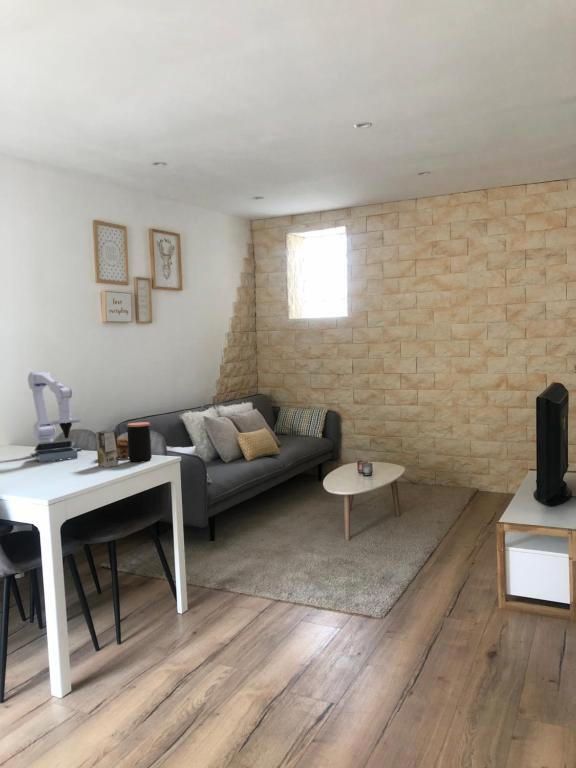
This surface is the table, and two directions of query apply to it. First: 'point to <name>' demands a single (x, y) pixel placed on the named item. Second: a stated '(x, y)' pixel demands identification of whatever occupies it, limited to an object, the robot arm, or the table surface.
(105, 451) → the coffee box
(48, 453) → the grey slotted box
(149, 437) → the coffee jar
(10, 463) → the table surface
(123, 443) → the bread
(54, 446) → the cabinet door
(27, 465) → the table surface
